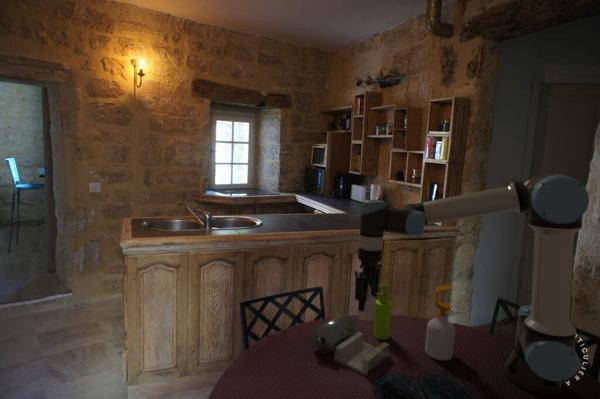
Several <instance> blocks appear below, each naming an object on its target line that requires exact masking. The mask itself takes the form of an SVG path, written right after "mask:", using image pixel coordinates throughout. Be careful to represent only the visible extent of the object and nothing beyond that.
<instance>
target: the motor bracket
mask: <svg viewBox="0 0 600 399" xmlns="http://www.w3.org/2000/svg"><path fill="white" fill-rule="evenodd" d="M311 336H312V338H311V340H312V343H313V346H314V347H315V348H316V350H317V351H318V352H320V353H321V354H324V355H328V354H330V353H332V352H333V355H332V357H333V361H334V362H336V363H337V364H340V365H342V366H344V367H346V368H348V369H351V370H353V371H354V372H356V373H359V374H361V375H363V376H365V377H366V376H368V375H369V374H370V373H371V372H373V371H374V370H375V369H376V368H377V367H378V366H379V365H380V364H381V363H383V362H384V361H385V360H386V359H387V358H388V357H390V355H391V354H390V344H389V343H387V342H385V341H383V342H382V343H380V344H379V345H377V346H375V345H372V344H370V343H368V342H366V341H364V333H362V332H360V331H357V327H356V324H355V322H354V319H352V318H351V316H349V315H348V314H342V313H340V314H339V315H337V316H335V317H333V318H331V319H330V320H328V321H326V322H325V323H323V324H321V325H319V326H318V327H315V328H314V329H313V332H312V335H311Z"/></svg>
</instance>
